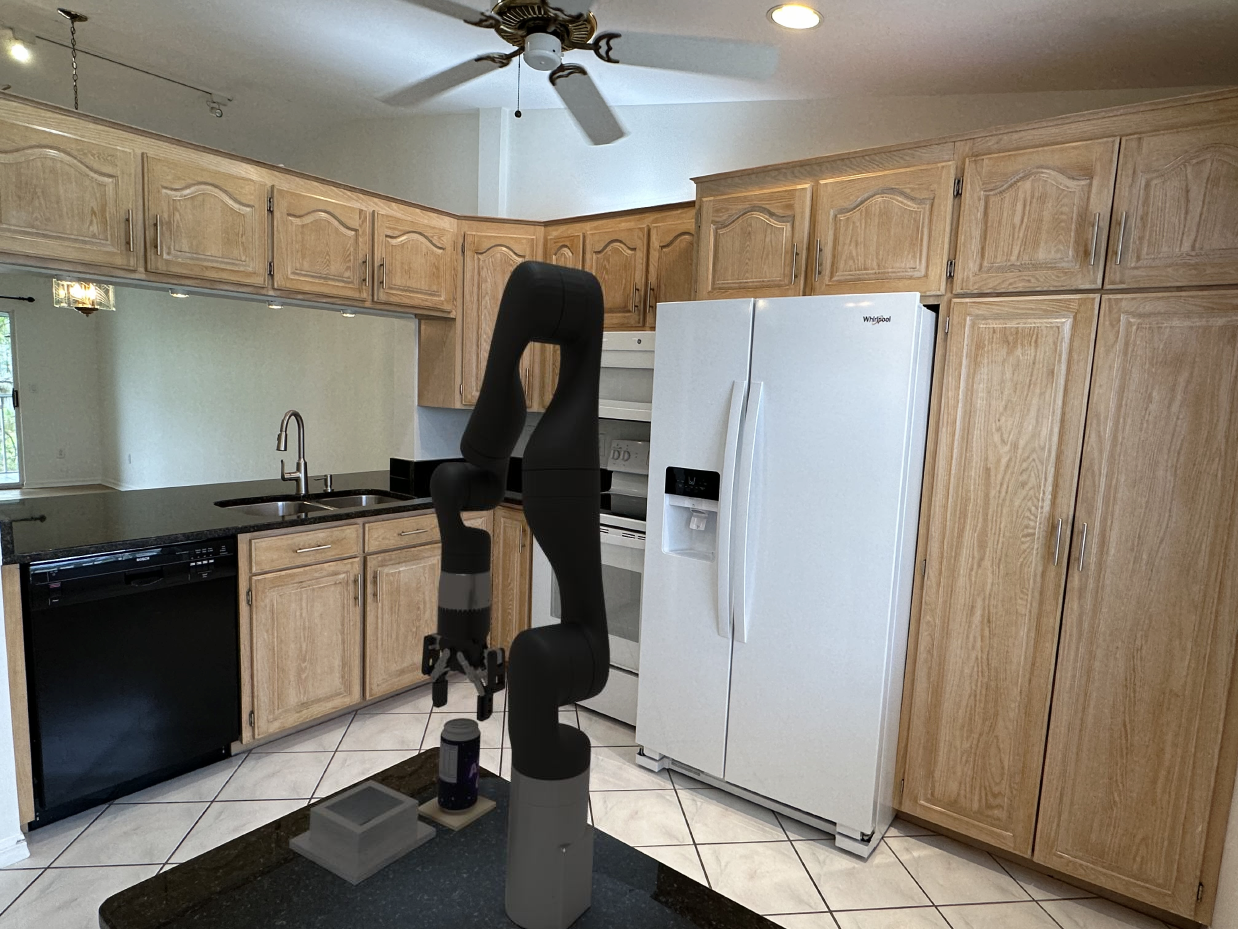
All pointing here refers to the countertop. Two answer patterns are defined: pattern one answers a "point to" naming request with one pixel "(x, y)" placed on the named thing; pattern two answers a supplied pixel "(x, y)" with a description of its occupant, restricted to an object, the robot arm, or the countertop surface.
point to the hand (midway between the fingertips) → (461, 712)
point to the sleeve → (362, 831)
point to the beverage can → (459, 765)
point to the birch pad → (455, 820)
